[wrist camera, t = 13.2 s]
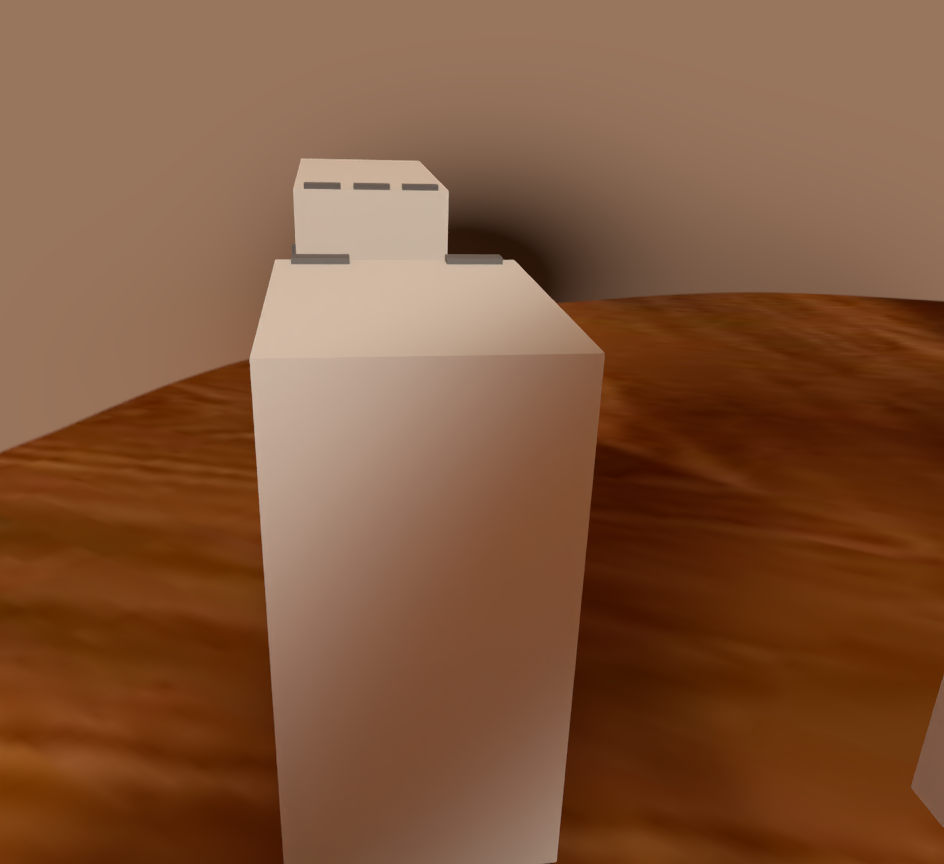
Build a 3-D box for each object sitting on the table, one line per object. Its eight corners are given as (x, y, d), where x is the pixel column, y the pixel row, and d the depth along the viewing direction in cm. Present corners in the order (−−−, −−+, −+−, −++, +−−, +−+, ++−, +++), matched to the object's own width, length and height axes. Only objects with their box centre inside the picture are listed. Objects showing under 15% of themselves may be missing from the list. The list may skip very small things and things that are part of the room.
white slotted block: (417, 379, 50) (419, 156, 45) (443, 468, 39) (450, 186, 34) (307, 381, 49) (298, 154, 44) (302, 472, 38) (288, 183, 33)
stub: (495, 647, 27) (516, 254, 22) (558, 862, 20) (607, 345, 15) (295, 660, 26) (272, 253, 21) (283, 891, 19) (246, 349, 14)
